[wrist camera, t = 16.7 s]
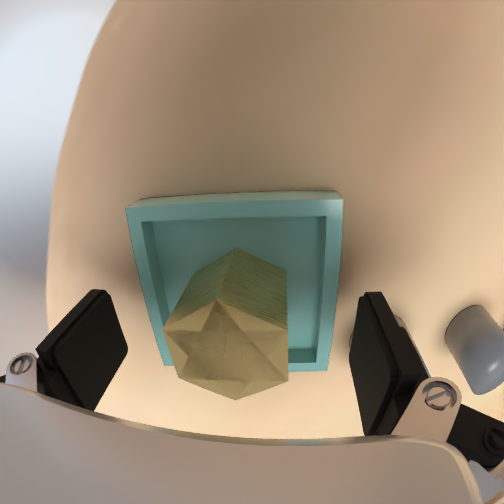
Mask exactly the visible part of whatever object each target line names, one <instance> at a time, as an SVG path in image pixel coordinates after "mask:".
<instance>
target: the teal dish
mask: <svg viewBox="0 0 504 504" xmlns="http://www.w3.org/2000/svg"><path fill="white" fill-rule="evenodd" d="M343 202H344V200H343V199H342V197H341V196H340V195H339V194H338V193H337V192H336V191H276V192H242V193H219V194H201V195H185V196H171V197H158V198H146V199H140V200H139V201H137V202H135V203H133V204H131V205H130V206H128V207H126V208H125V209H126V215H127V220H128V226H129V231H130V237H131V242H132V247H133V252H134V256H135V261H136V265H137V270H138V274H139V278H140V283H141V287H142V291H143V295H144V299H145V303H146V306H147V310H148V314H149V317H150V321H151V324H152V328H153V331H154V335H155V338H156V341H157V345H158V348H159V351H160V354H161V357H162V360H163V363H164V365H169V366H174V363H173V360H172V357H171V354H170V351H169V348H168V345H167V342H166V339H165V336H164V333H163V330H162V329H163V328H164V326H165V324H166V322H167V320H168V318H169V317H170V315H171V313H172V311H173V309H174V308H175V306H176V304H177V302H178V300H179V299H180V297H181V295H182V293H183V291H184V290H185V288H186V286H187V284H188V283H189V281H190V279H191V277H192V276H193V274H194V273H195V272H197V271H199V270H200V269H202V268H203V267H205V266H207V265H208V264H210V263H211V262H213V261H214V260H216V259H218V258H219V257H221V256H222V255H224V254H226V253H227V252H229V251H230V250H232V249H233V248H235V247H237V248H239V249H241V250H243V251H245V252H247V253H250V254H252V255H254V256H256V257H258V258H260V259H262V260H265V261H267V262H269V263H271V264H273V265H275V266H277V267H280V268H282V269H284V270H286V276H287V307H288V372H303V371H327V369H328V363H329V356H330V349H331V342H332V335H333V327H334V319H335V311H336V302H337V292H338V282H339V271H340V258H341V244H342V226H343Z"/></svg>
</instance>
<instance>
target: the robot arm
mask: <svg viewBox="0 0 504 504" xmlns="http://www.w3.org/2000/svg"><path fill="white" fill-rule="evenodd" d="M36 351H37V353H38V355H39V358H38V359H37V358H36V356H35V355H34V354H32V353H21V354H19V355H17V356H16V357H14V358H13V359H12V360H11V361H10V362H9V364H8V366H7V371H6V375H4V376H1V377H0V504H504V423H503V422H501V421H499V420H496V419H494V418H492V417H490V416H487V415H485V414H483V413H481V412H478V411H476V410H474V409H472V408H470V407H467V406H465V405H463V404H461V399H462V396H461V392H460V390H459V388H458V387H457V386H456V385H455V384H454V383H453V382H452V381H450V380H448V379H446V378H442V377H432V378H429V376H428V374H427V372H426V370H425V368H424V366H423V363H422V361H421V359H420V357H419V355H418V353H417V351H416V349H415V347H414V345H413V343H412V341H411V339H410V337H409V335H408V333H407V331H406V329H405V328H404V327H402V326H401V327H400V326H399V324H398V322H397V320H396V318H395V317H394V315H393V313H392V311H391V309H390V307H389V305H388V303H387V301H386V299H385V297H384V296H383V294H382V292H366V293H365V294H364V296H361V297H360V298H359V301H358V308H357V314H356V320H355V326H354V332H353V337H352V343H351V348H350V353H349V364H350V368H351V372H352V377H353V382H354V386H355V391H356V396H357V401H358V406H359V411H360V416H361V421H362V426H363V432H364V435H365V436H359V437H342V438H324V439H257V438H240V437H227V436H217V435H208V434H199V433H192V432H185V431H178V430H172V429H167V428H161V427H156V426H151V425H146V424H141V423H137V422H132V421H128V420H124V419H120V418H116V417H112V416H108V415H105V414H101V413H98V412H94V410H95V408H96V406H97V405H98V403H99V401H100V399H101V398H102V396H103V394H104V392H105V391H106V389H107V387H108V385H109V384H110V382H111V380H112V378H113V377H114V375H115V373H116V372H117V370H118V368H119V367H120V365H121V363H122V362H123V360H124V358H125V357H126V355H127V352H128V346H127V343H126V340H125V338H124V335H123V332H122V329H121V326H120V323H119V320H118V318H117V314H116V311H115V308H114V305H113V302H112V299H111V296H110V295H109V294H108V293H107V292H106V291H105V290H98V289H92V290H91V291H90V292H89V293H88V294H87V295H86V296H85V297H84V298H83V299H82V300H81V301H80V302H79V303H78V304H77V305H76V306H75V307H74V308H73V309H72V310H71V311H70V312H69V313H68V314H67V315H66V316H65V317H64V318H63V319H62V320H61V321H60V322H59V324H58V325H57V326H56V327H55V328H54V329H53V330H52V331H51V332H50V333H49V334H48V336H47V337H46V338H45V339H44V340H43V341H42V342H41V343H40V344H39V345H38V347H37V348H36Z"/></svg>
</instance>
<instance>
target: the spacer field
mask: <svg viewBox="0 0 504 504" xmlns="http://www.w3.org/2000/svg"><path fill="white" fill-rule="evenodd" d="M394 317H395V318H396V320H397V322H398V324H399V326H400V327H401V326H402V327H404V328H405V329H406V331H407V333H408V335H409V337H410V339H411V341H412V343H413V345H414V347H415V349H416V351H417V353H418V355H419V357H420V359H421V361H422V363H423V366H424V368H425V370H426V372H427V374H428V376H429V378H431V376H430V374H429V372H428V370H427V367H426V365H425V363H424V361H423V359H422V357H421V355H420V353H419V351H418V349H417V347H416V345H415V343H414V341H413V339H412V337H411V335H410V333H409V331H408V329H407V327H406V325H405V323H404V322H403V320H402V319H400V318H399V317H397V316H395V315H394ZM352 337H353V334H352V336H351V338H350V348H351V343H352ZM445 343H446V345H447V347H448V348H449V350H450V352H451V353H452V355H453V357H454V359H455V360H456V362H457V364H458V366H459V367H460V369H461V371H462V373H463V375H464V376H465V378H466V380H467V382H468V384H469V386H470V388H471V390H472V391H473V393H474V394H476V395H481V394H485V393H488V392H490V391H491V390H493V389H495V388H496V387H497V386H499V385H500V384H501V383H502V382H503V381H504V330H502V329H501V328H500V326H499V325H498V324H497V323H496V322H495V320H494V319H493V318H492V317H491V316H490V314H489V313H488V312H487V311H486V310H485V309H484V308H483V307H482V306H479V305H474V306H471V307H468V308H466V309H464V310H463V311H462V312H460V313H459V314H458V315H457V316H456V317H455V318H454V319H453V321H452V322H451V323H450V325H449V327H448V329H447V331H446V334H445Z"/></svg>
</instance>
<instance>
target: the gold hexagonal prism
mask: <svg viewBox="0 0 504 504" xmlns="http://www.w3.org/2000/svg"><path fill="white" fill-rule="evenodd" d="M162 330H163V333H164V336H165V339H166V342H167V345H168V348H169V351H170V354H171V357H172V360H173V363H174V366H175V369H176V372H177V375H178V377H179V378H181V379H183V380H185V381H188V382H190V383H192V384H195V385H197V386H200V387H202V388H205V389H207V390H210V391H212V392H215V393H217V394H220V395H223V396H226V397H228V398H231V399H234V400H237V399H240V398H243V397H246V396H249V395H252V394H255V393H258V392H260V391H263V390H266V389H269V388H271V387H274V386H277V385H279V384H282V383H284V382H287V381H288V307H287V276H286V270H284V269H282V268H280V267H277V266H275V265H273V264H271V263H269V262H267V261H265V260H262V259H260V258H258V257H256V256H254V255H252V254H250V253H247V252H245V251H243V250H241V249H239V248H237V247H235V248H233V249H232V250H230V251H229V252H227V253H226V254H224V255H222V256H221V257H219V258H218V259H216V260H214V261H213V262H211V263H210V264H208V265H207V266H205V267H203V268H202V269H200V270H199V271H197V272H195V273H194V274H193V276H192V277H191V279H190V281H189V283H188V284H187V286H186V288H185V290H184V291H183V293H182V295H181V297H180V299H179V300H178V302H177V304H176V306H175V308H174V309H173V311H172V313H171V315H170V317H169V318H168V320H167V322H166V324H165V326H164V328H163V329H162Z"/></svg>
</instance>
